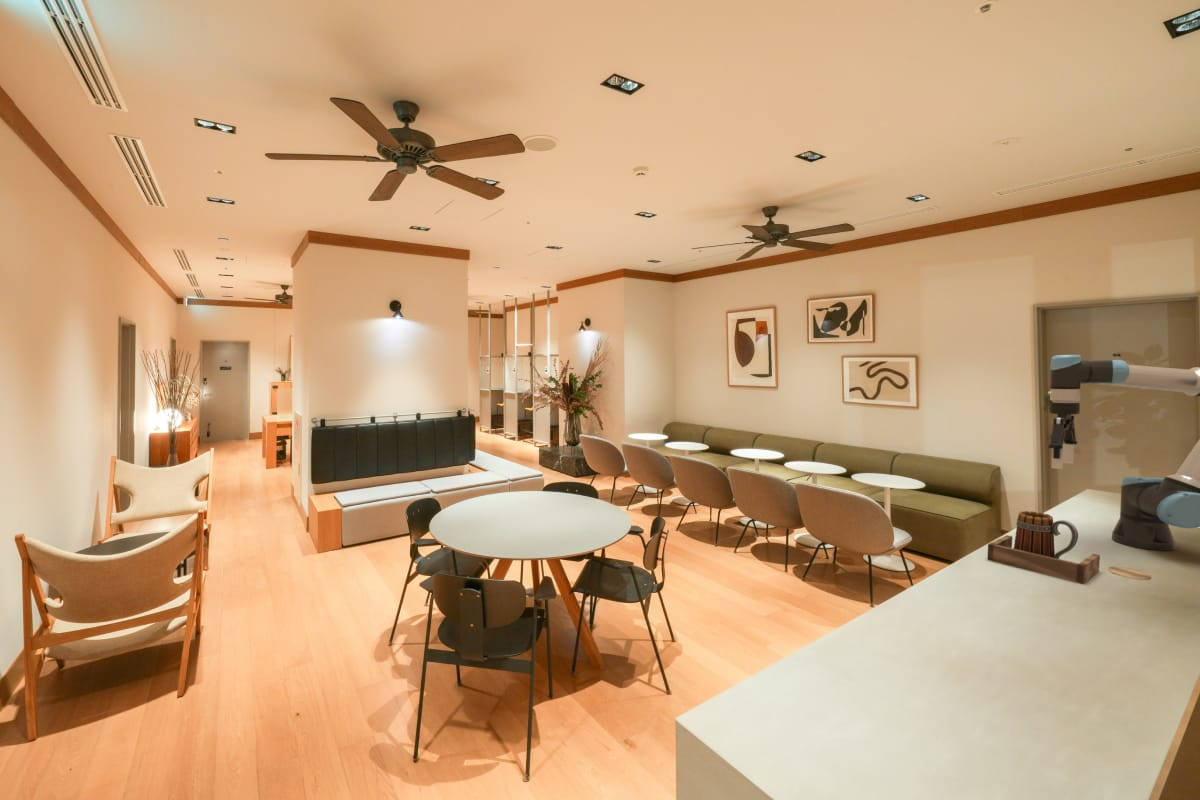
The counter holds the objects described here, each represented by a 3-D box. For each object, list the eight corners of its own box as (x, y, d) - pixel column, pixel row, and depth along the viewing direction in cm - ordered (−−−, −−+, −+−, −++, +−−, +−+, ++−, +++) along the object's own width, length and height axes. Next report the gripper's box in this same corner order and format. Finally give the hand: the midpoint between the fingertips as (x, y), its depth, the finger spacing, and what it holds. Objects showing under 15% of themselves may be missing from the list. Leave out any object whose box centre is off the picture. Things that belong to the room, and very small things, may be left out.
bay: (1006, 549, 177) (1006, 535, 177) (1099, 571, 158) (1099, 554, 158) (987, 559, 168) (988, 544, 168) (1083, 583, 149) (1084, 566, 149)
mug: (1005, 559, 168) (1007, 512, 167) (1022, 553, 173) (1024, 508, 172) (1066, 576, 155) (1069, 525, 154) (1083, 569, 160) (1085, 520, 159)
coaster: (1111, 566, 163) (1112, 564, 163) (1153, 576, 155) (1154, 573, 155) (1104, 573, 157) (1104, 570, 157) (1147, 583, 150) (1147, 580, 150)
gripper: (1060, 399, 186) (1058, 459, 187) (1038, 403, 170) (1037, 469, 172) (1088, 400, 180) (1086, 462, 181) (1069, 404, 165) (1067, 472, 166)
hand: (1062, 465), depth 176 cm, fingers open, 13 cm apart
